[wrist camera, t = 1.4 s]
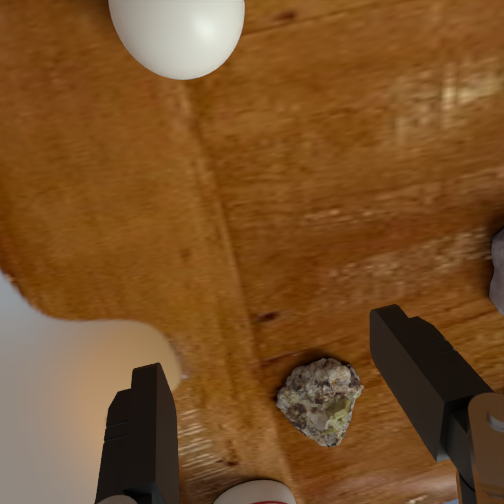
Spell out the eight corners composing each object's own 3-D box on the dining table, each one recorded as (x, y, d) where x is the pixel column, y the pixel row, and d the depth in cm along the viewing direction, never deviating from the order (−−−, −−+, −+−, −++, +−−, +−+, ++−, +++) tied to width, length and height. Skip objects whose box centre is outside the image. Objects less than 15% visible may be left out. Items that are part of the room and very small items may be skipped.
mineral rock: (268, 387, 33) (370, 383, 32) (270, 347, 36) (362, 342, 35) (283, 460, 39) (370, 460, 37) (284, 419, 42) (363, 418, 41)
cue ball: (98, -53, 19) (74, -82, 14) (222, -72, 20) (244, -107, 15) (135, 82, 22) (127, 99, 17) (242, 62, 23) (265, 73, 18)
